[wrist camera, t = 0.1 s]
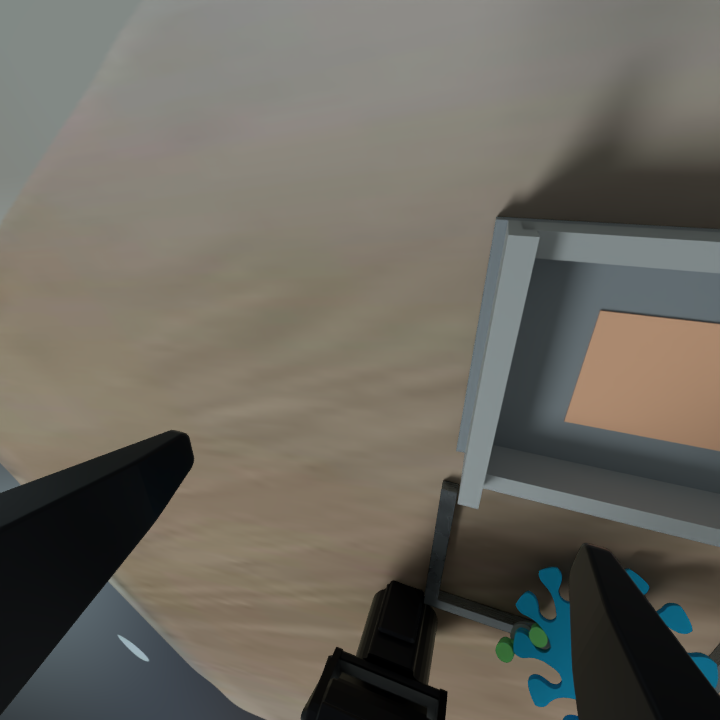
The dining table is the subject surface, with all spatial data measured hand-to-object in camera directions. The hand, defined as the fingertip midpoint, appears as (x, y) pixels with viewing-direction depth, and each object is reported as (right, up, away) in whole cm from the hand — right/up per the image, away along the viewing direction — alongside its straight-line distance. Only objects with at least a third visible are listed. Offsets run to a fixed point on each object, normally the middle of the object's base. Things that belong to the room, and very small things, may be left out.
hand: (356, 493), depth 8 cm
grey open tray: (+15, +2, +10) cm, 18 cm away
